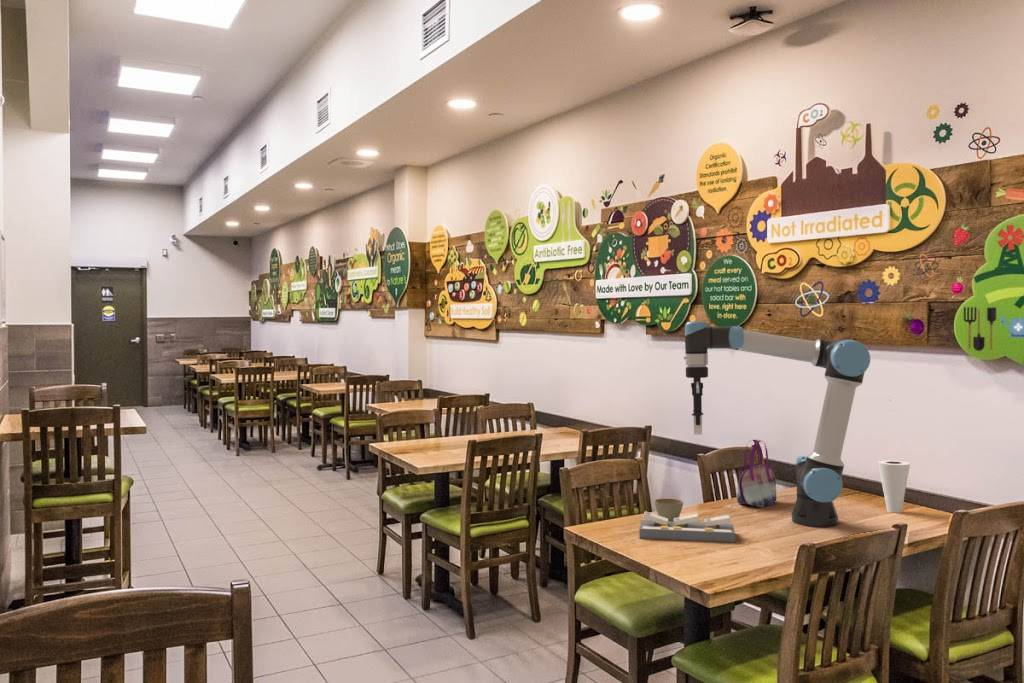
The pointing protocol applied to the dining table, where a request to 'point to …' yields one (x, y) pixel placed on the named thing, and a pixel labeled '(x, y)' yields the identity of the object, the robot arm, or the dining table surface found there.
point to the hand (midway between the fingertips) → (698, 434)
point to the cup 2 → (894, 483)
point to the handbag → (757, 481)
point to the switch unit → (687, 531)
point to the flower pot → (668, 508)
